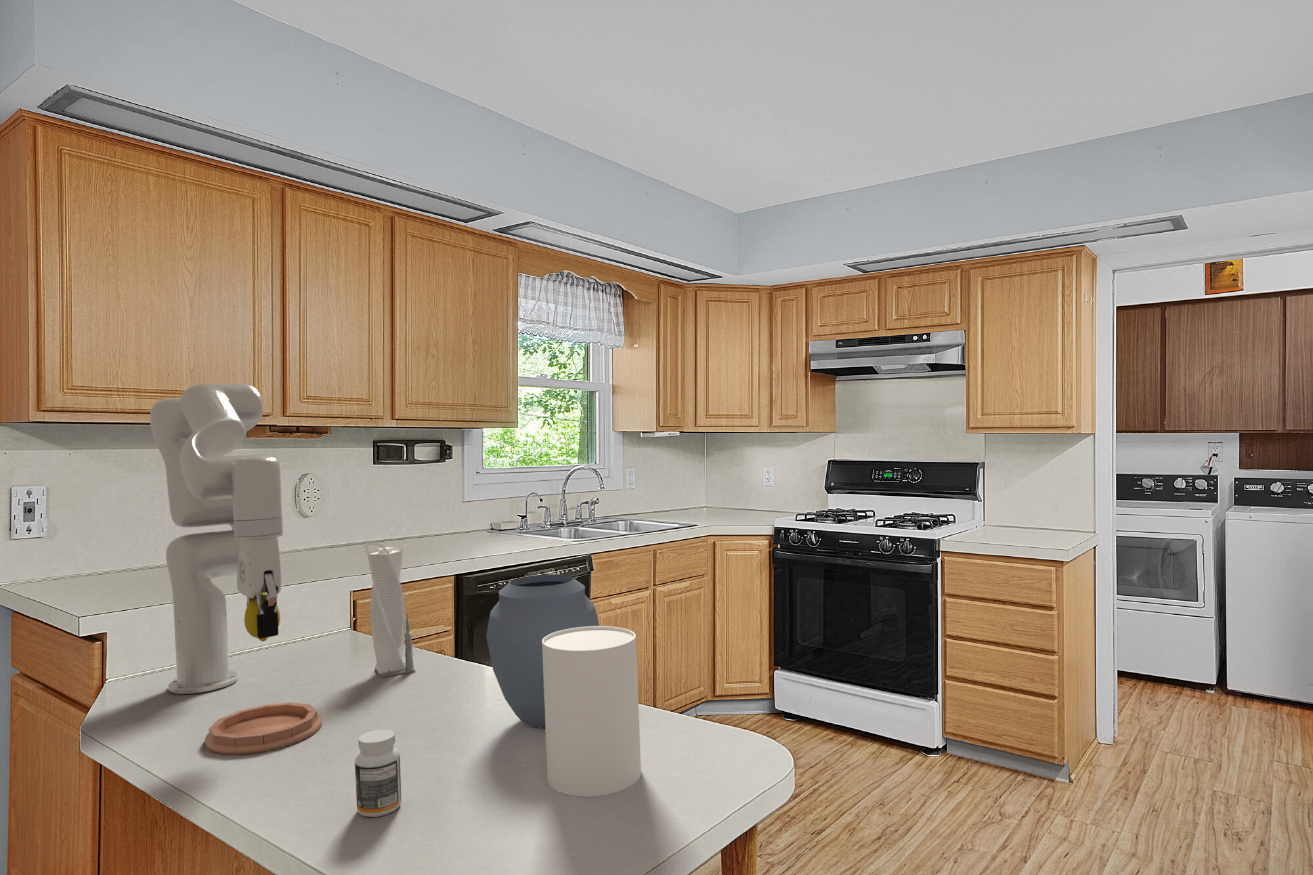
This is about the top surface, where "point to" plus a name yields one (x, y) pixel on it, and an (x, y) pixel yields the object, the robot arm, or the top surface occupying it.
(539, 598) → the vase
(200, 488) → the robot arm
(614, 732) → the canister
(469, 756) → the top surface
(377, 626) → the skyscraper
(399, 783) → the pill bottle
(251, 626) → the lemon
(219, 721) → the dish
